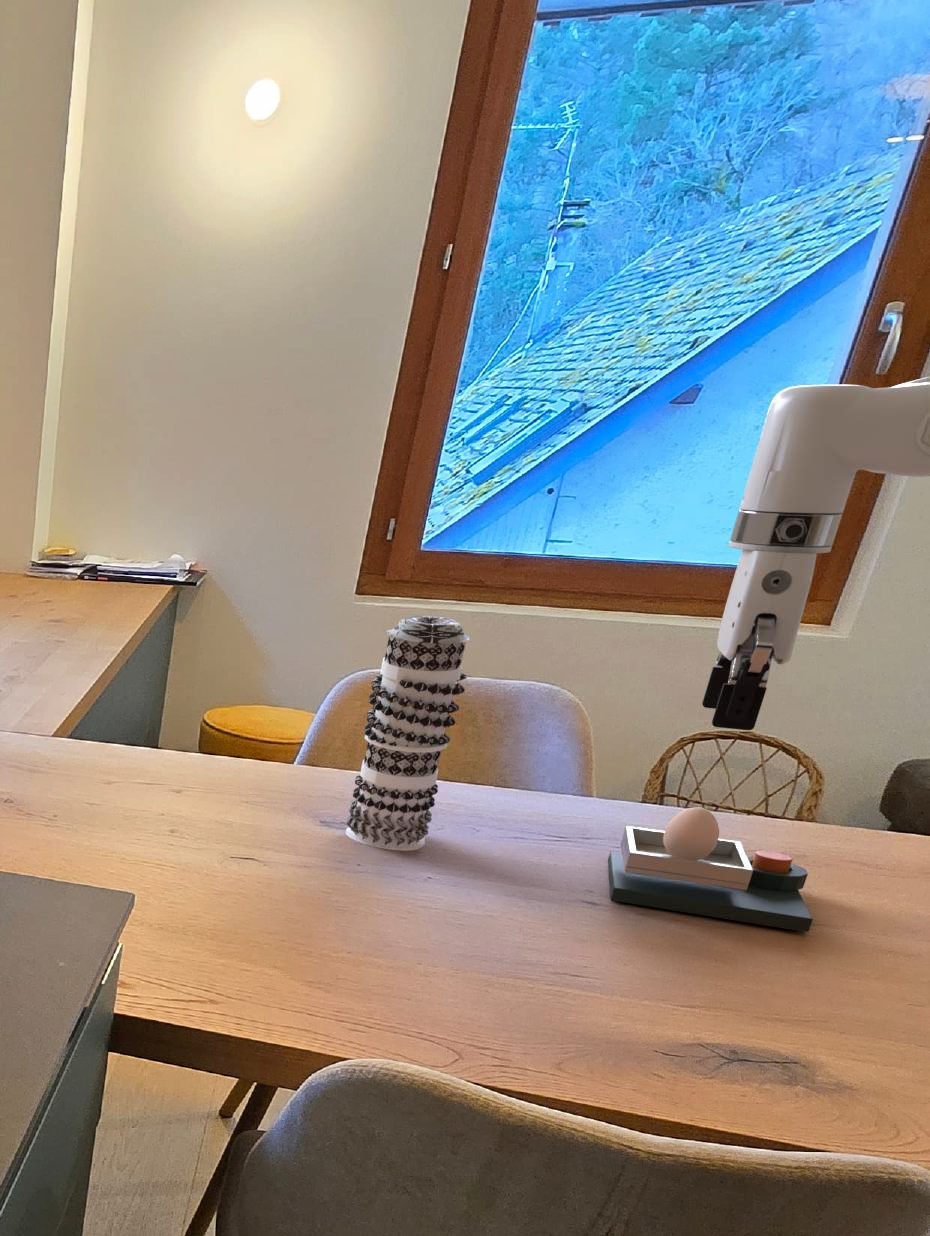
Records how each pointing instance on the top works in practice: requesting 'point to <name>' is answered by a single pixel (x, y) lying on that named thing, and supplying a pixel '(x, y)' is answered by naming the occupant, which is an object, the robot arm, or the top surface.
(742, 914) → the scale
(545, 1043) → the top surface
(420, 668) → the decorative candle
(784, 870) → the button
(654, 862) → the pan
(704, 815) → the egg
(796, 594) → the robot arm
